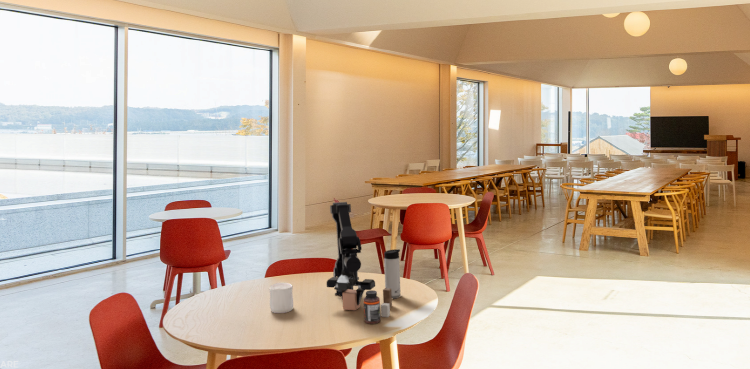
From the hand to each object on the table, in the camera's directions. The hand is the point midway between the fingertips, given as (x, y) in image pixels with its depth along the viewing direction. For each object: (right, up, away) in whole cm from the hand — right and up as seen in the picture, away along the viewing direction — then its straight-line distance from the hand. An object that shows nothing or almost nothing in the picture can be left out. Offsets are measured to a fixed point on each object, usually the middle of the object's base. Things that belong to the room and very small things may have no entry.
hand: (351, 304), depth 229 cm
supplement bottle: (+8, -3, -16) cm, 18 cm away
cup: (-28, -3, +2) cm, 28 cm away
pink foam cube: (0, -1, 0) cm, 1 cm away
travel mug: (+17, 0, +14) cm, 22 cm away
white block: (+13, -2, -10) cm, 17 cm away
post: (+14, -1, +1) cm, 14 cm away
